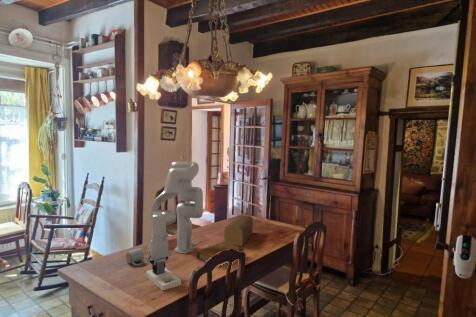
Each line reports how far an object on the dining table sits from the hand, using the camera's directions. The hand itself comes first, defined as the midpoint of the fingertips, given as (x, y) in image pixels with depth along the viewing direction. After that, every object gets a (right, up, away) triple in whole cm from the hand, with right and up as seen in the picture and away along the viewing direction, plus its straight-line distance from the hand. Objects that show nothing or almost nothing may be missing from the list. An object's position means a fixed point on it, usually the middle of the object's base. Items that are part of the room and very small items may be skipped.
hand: (158, 270), depth 162 cm
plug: (0, -3, 0) cm, 3 cm away
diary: (+31, -3, +28) cm, 42 cm away
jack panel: (+3, -4, -4) cm, 7 cm away
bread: (+43, 0, +65) cm, 78 cm away
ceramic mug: (-18, -2, +17) cm, 24 cm away
